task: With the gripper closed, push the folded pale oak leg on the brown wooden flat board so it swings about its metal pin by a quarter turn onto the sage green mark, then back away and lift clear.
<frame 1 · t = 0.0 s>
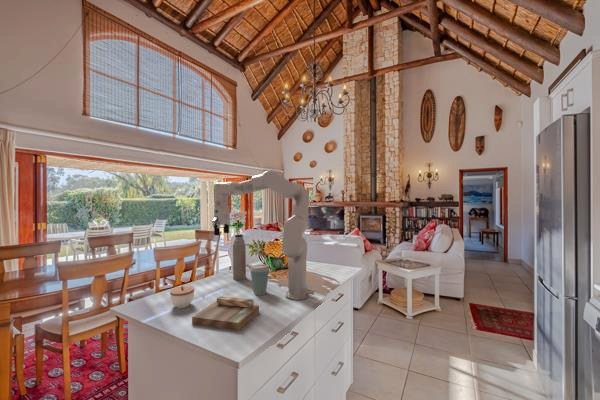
hand: (221, 234, 157), 31 cm above the table, tool pointing down, fingers open, 9 cm apart
oak leg: (235, 301, 124), point 5 cm above the table, hinge at 0.0°
disposable coffee cup: (260, 293, 149), on the table
brown wooden flat board: (227, 317, 119), on the table
lidded jar: (182, 306, 132), on the table
thermos bottle: (239, 278, 176), on the table
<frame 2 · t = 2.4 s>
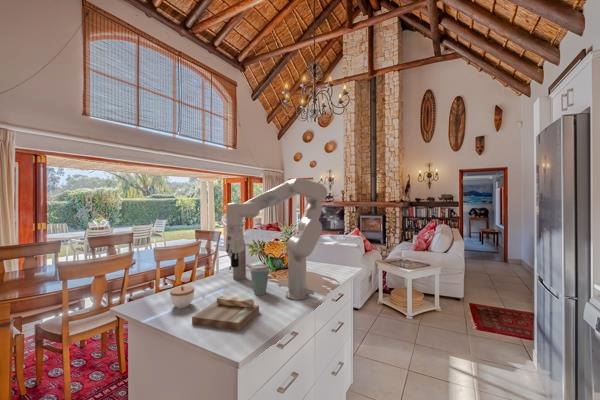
hand: (234, 266, 131), 19 cm above the table, tool pointing down, fingers closed
nothing on the table moved.
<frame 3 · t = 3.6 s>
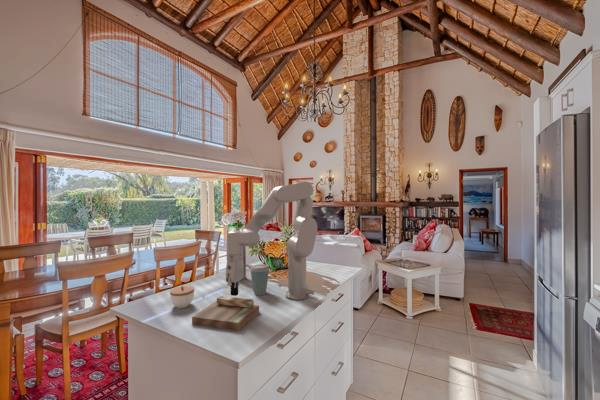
hand: (234, 294, 131), 5 cm above the table, tool pointing down, fingers closed
nothing on the table moved.
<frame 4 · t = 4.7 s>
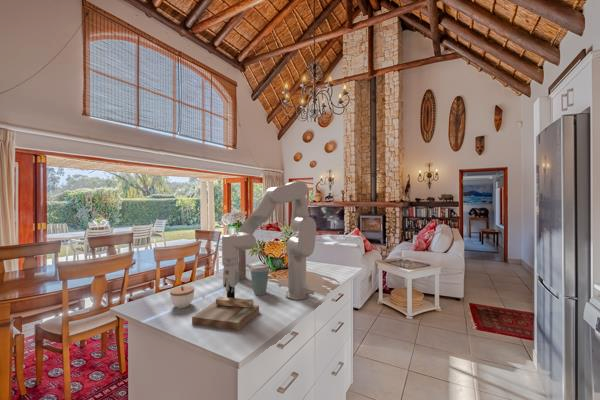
hand: (230, 299, 128), 4 cm above the table, tool pointing down, fingers closed
oak leg: (234, 302, 124), point 5 cm above the table, hinge at 3.6°, touching gripper
everything else where it was.
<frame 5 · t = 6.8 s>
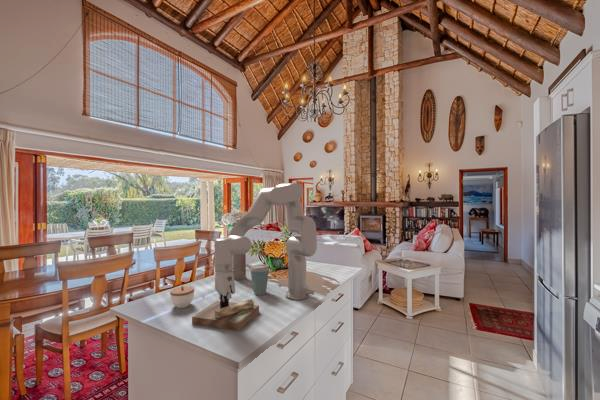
hand: (224, 309, 117), 4 cm above the table, tool pointing down, fingers closed
oak leg: (235, 308, 117), point 5 cm above the table, hinge at 59.7°, touching gripper
everything else where it was.
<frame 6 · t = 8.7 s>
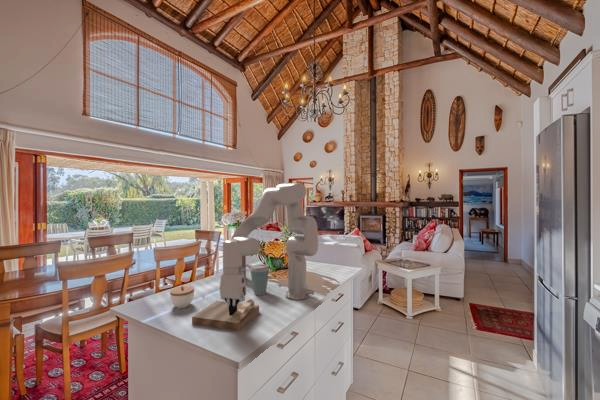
hand: (233, 314, 113), 4 cm above the table, tool pointing down, fingers closed
oak leg: (243, 310, 115), point 5 cm above the table, hinge at 95.6°, touching gripper
everything else where it was.
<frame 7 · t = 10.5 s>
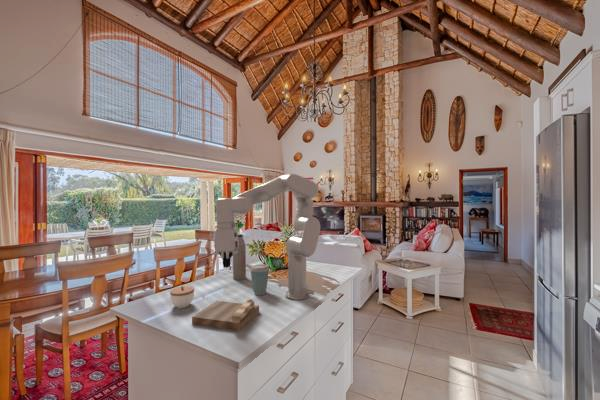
hand: (226, 266, 122), 21 cm above the table, tool pointing down, fingers closed
oak leg: (243, 310, 115), point 5 cm above the table, hinge at 95.8°
everything else where it was.
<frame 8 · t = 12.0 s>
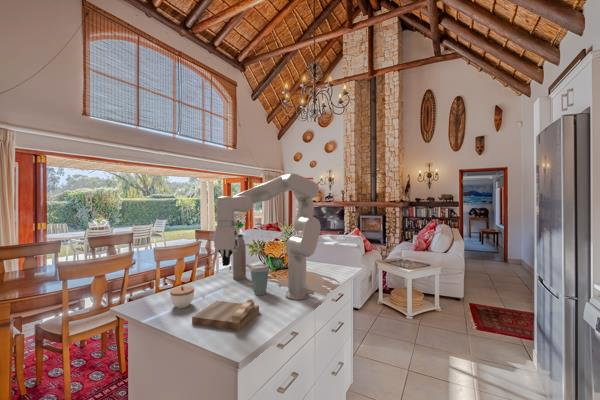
hand: (226, 265, 122), 22 cm above the table, tool pointing down, fingers closed
nothing on the table moved.
at the end: oak leg at +96° (first picture: +0°); lidded jar moved 0.2 cm from its start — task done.
